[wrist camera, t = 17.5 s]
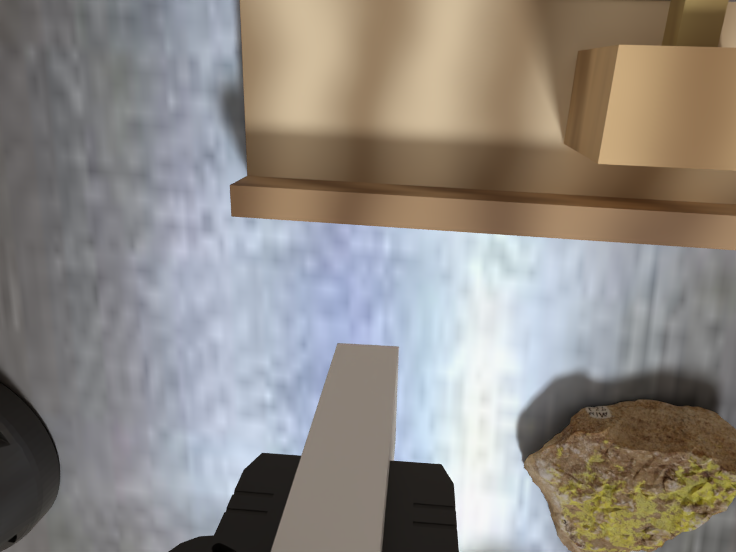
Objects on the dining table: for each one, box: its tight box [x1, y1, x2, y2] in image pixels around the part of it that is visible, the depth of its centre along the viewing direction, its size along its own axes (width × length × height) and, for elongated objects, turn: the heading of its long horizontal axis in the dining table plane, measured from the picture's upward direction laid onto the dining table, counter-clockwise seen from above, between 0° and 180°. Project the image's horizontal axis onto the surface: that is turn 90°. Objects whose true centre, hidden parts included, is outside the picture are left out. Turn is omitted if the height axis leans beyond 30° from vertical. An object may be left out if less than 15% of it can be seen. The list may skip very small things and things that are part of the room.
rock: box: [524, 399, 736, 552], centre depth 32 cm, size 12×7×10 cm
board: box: [230, 0, 736, 250], centre depth 25 cm, size 24×12×4 cm, turn 88°
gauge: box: [564, 0, 736, 171], centre depth 21 cm, size 6×8×6 cm
